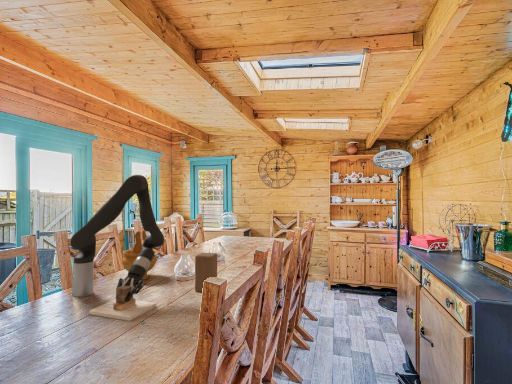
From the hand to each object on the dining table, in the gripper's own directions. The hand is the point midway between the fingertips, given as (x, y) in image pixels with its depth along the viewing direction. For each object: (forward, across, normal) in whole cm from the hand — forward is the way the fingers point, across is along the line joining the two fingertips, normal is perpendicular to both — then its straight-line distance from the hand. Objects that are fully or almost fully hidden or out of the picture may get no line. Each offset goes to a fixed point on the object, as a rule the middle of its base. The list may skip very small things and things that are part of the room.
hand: (121, 300), depth 139 cm
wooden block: (-25, +22, +32) cm, 46 cm away
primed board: (+2, 0, +5) cm, 5 cm away
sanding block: (+1, 0, +4) cm, 4 cm away
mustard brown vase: (-32, -30, +39) cm, 58 cm away
